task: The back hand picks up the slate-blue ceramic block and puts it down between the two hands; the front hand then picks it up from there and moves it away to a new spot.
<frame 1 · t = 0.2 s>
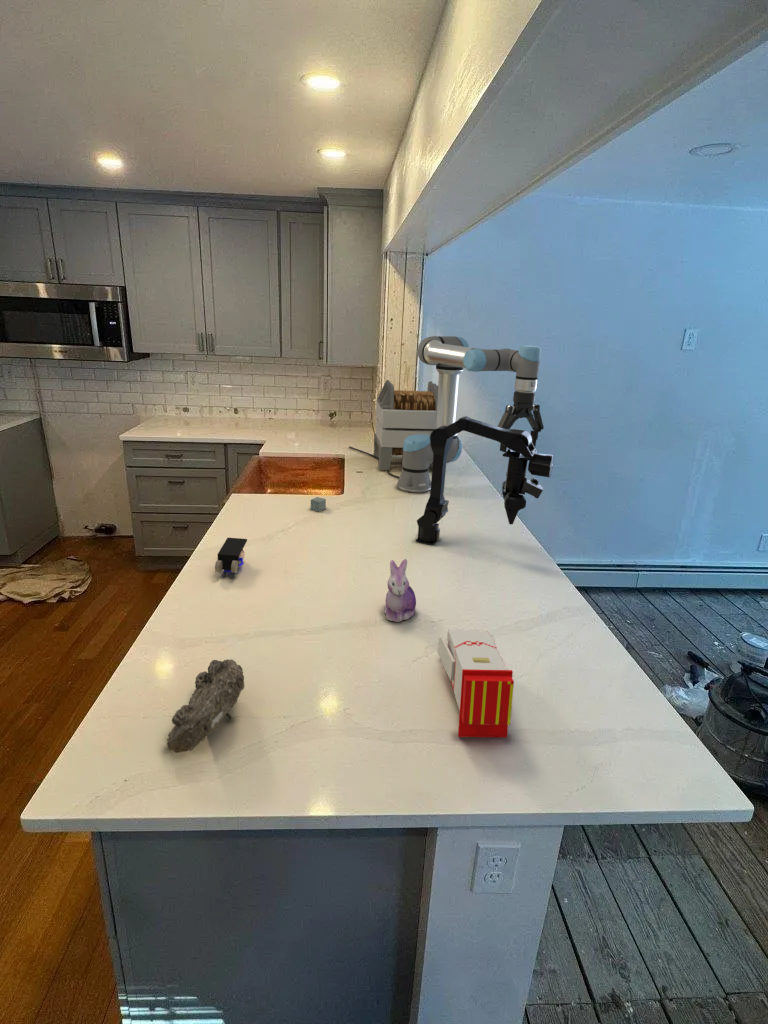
front hand: (510, 519, 181), 13 cm above the counter, tool pointing down, fingers open, 9 cm apart
back hand: (517, 450, 207), 28 cm above the counter, tool pointing down, fingers open, 13 cm apart
toy: (469, 691, 119), on the counter
fossil: (212, 717, 108), on the counter
block: (318, 509, 220), on the counter
transformer: (407, 462, 292), on the counter
figurine: (399, 614, 147), on the counter
figurine character: (232, 569, 168), on the counter
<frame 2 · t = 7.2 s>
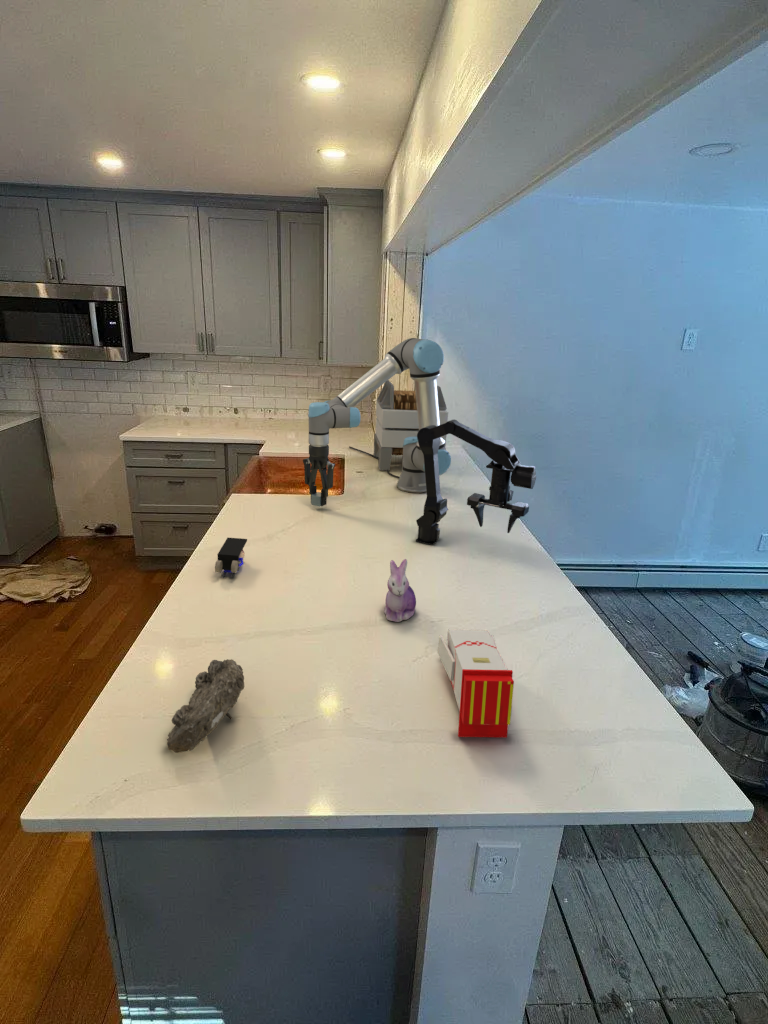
front hand: (494, 529, 182), 9 cm above the counter, tool pointing down, fingers open, 9 cm apart
back hand: (318, 503, 220), 2 cm above the counter, tool pointing down, fingers closed on block, 4 cm apart
block: (318, 504, 220), point 2 cm above the counter, touching back hand
everything else where it was.
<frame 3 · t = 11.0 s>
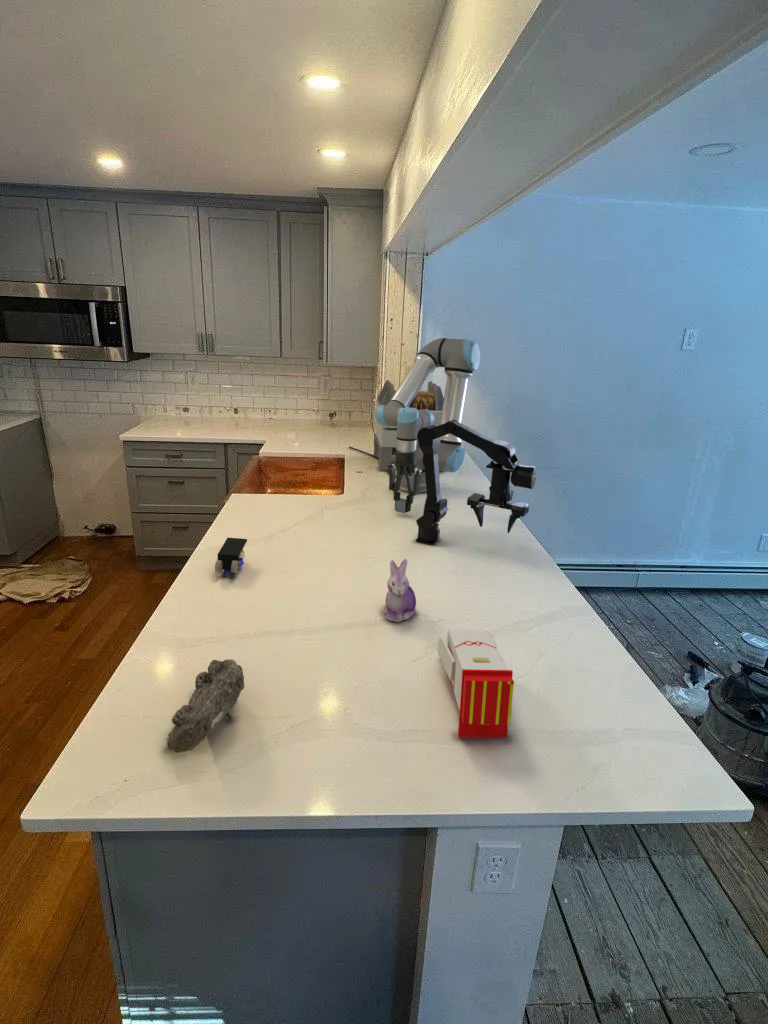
front hand: (494, 529, 182), 9 cm above the counter, tool pointing down, fingers open, 9 cm apart
back hand: (402, 510, 217), 2 cm above the counter, tool pointing down, fingers closed on block, 4 cm apart
block: (402, 510, 217), point 2 cm above the counter, touching back hand
everything else where it was.
when the back hand's fingers open (1 cm above the counter, at t = 14.9 s): block stays where it is, on the counter.
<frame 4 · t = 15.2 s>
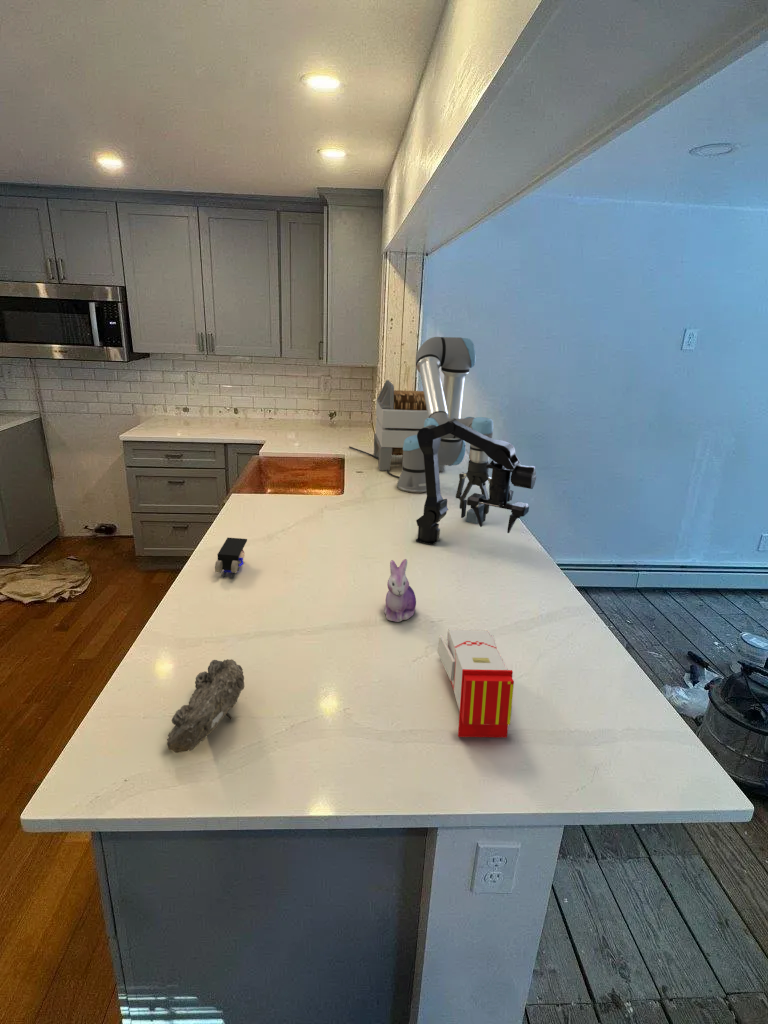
front hand: (494, 529, 182), 9 cm above the counter, tool pointing down, fingers open, 9 cm apart
back hand: (473, 519, 215), 1 cm above the counter, tool pointing down, fingers open, 7 cm apart
block: (472, 521, 215), on the counter
everything else where it was.
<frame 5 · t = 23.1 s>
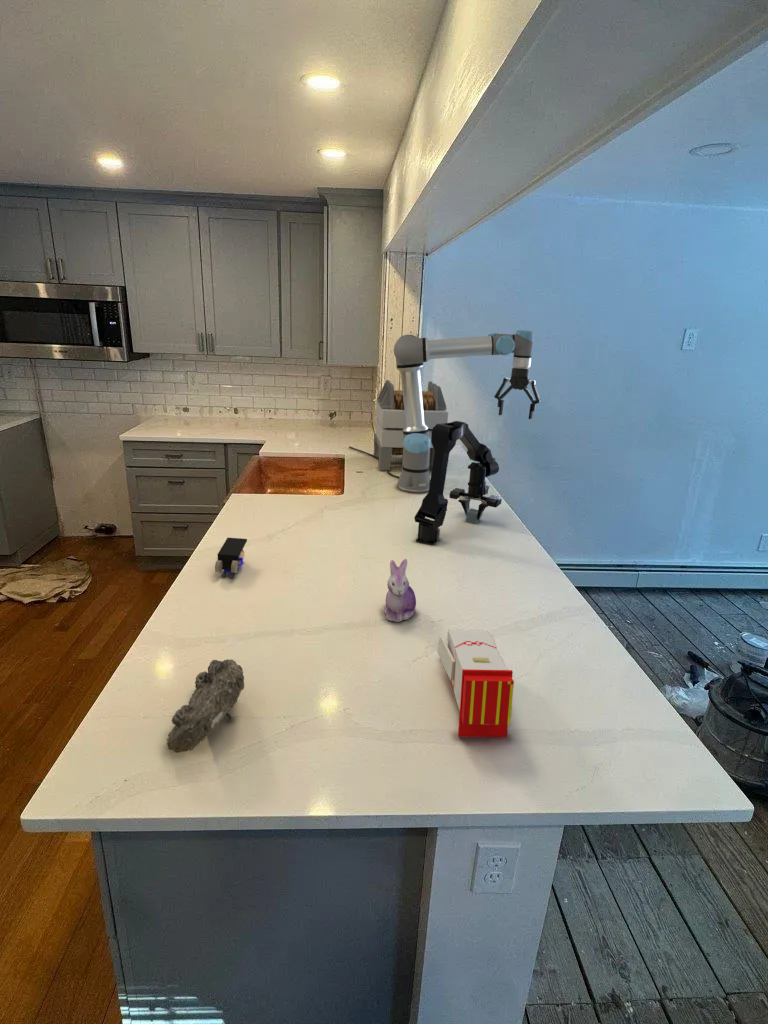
front hand: (473, 518, 215), 1 cm above the counter, tool pointing down, fingers closed on block, 4 cm apart
back hand: (515, 416, 251), 32 cm above the counter, tool pointing down, fingers open, 13 cm apart
block: (472, 521, 215), on the counter, touching front hand
everything else where it was.
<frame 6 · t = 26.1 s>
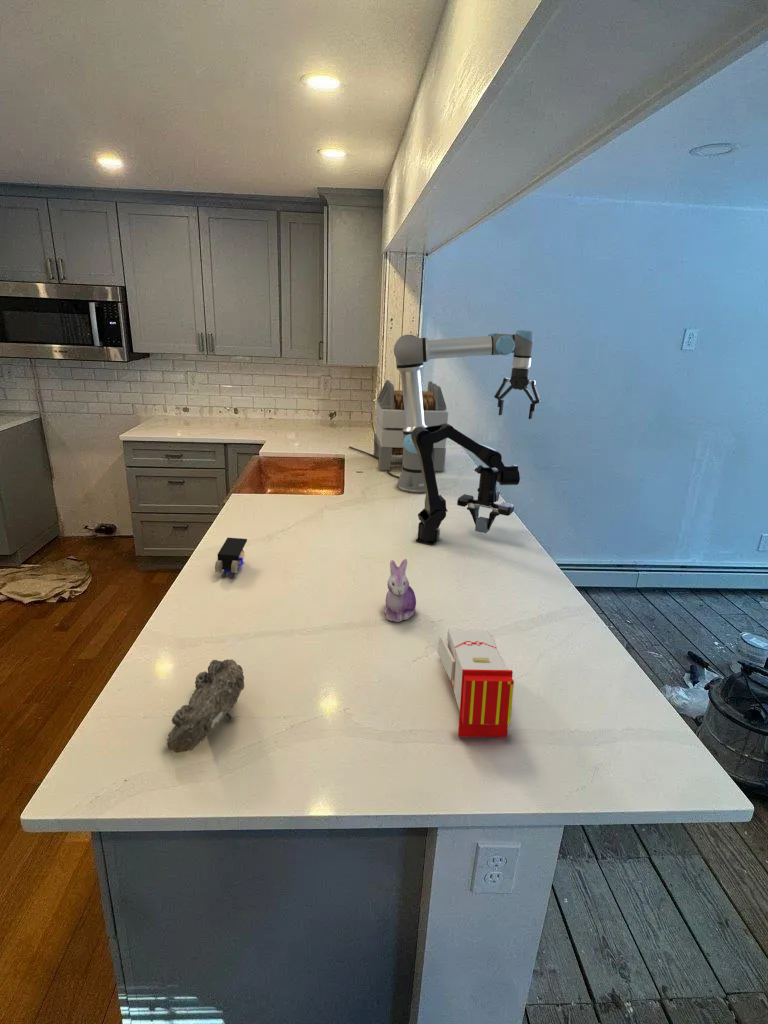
front hand: (482, 527, 198), 4 cm above the counter, tool pointing down, fingers closed on block, 4 cm apart
back hand: (515, 416, 251), 32 cm above the counter, tool pointing down, fingers open, 13 cm apart
block: (482, 530, 198), point 3 cm above the counter, touching front hand
everything else where it was.
when the front hand's fingers open (2 cm above the counter, at t = 29.5 s): block drops 1 cm, on the counter.
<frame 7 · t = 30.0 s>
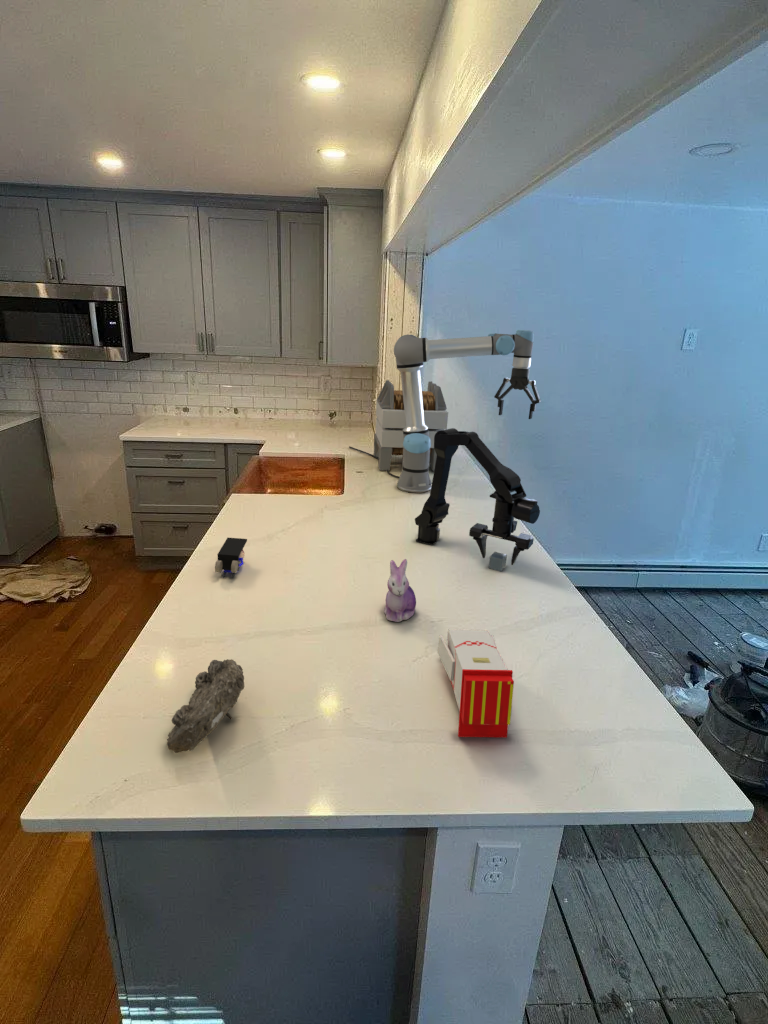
front hand: (497, 561, 176), 2 cm above the counter, tool pointing down, fingers open, 9 cm apart
back hand: (515, 416, 251), 32 cm above the counter, tool pointing down, fingers open, 13 cm apart
block: (497, 567, 177), on the counter
everything else where it was.
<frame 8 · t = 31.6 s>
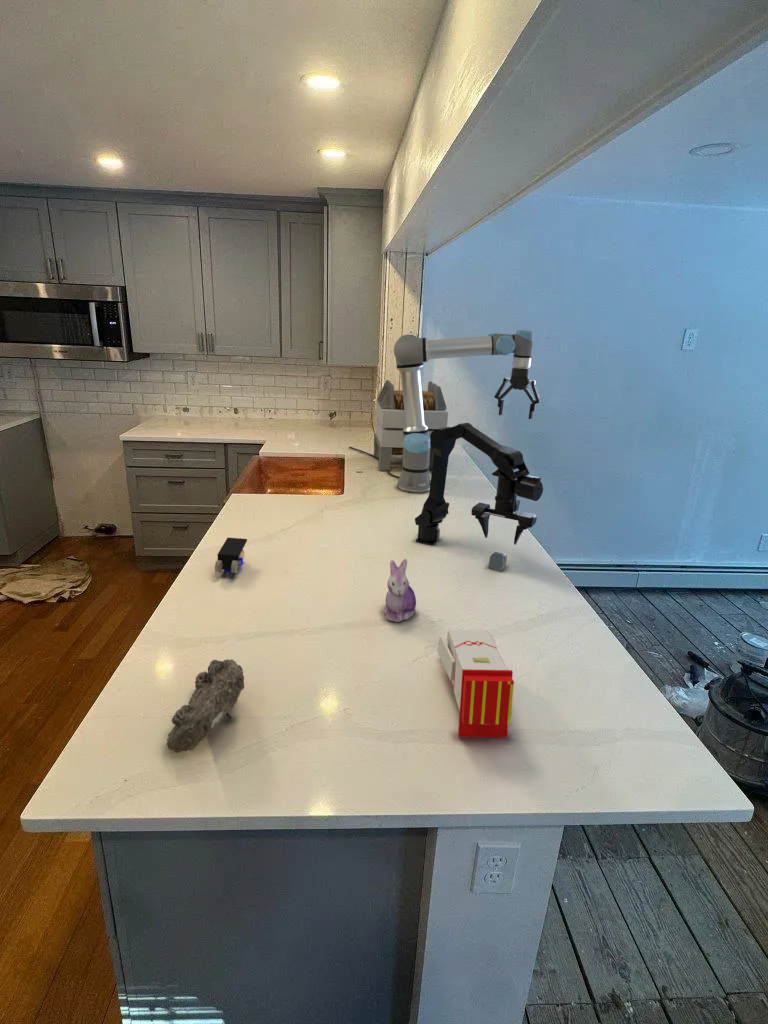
front hand: (500, 540, 174), 9 cm above the counter, tool pointing down, fingers open, 9 cm apart
back hand: (515, 416, 251), 32 cm above the counter, tool pointing down, fingers open, 13 cm apart
nothing on the counter moved.
at the end: block inside the target area (0.1 cm from its centre), on the counter; block tilted 0°; the two hands never held the block at the same time; the front hand is holding nothing; the back hand is holding nothing; block at rest at the end (0.0 cm/s) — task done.
